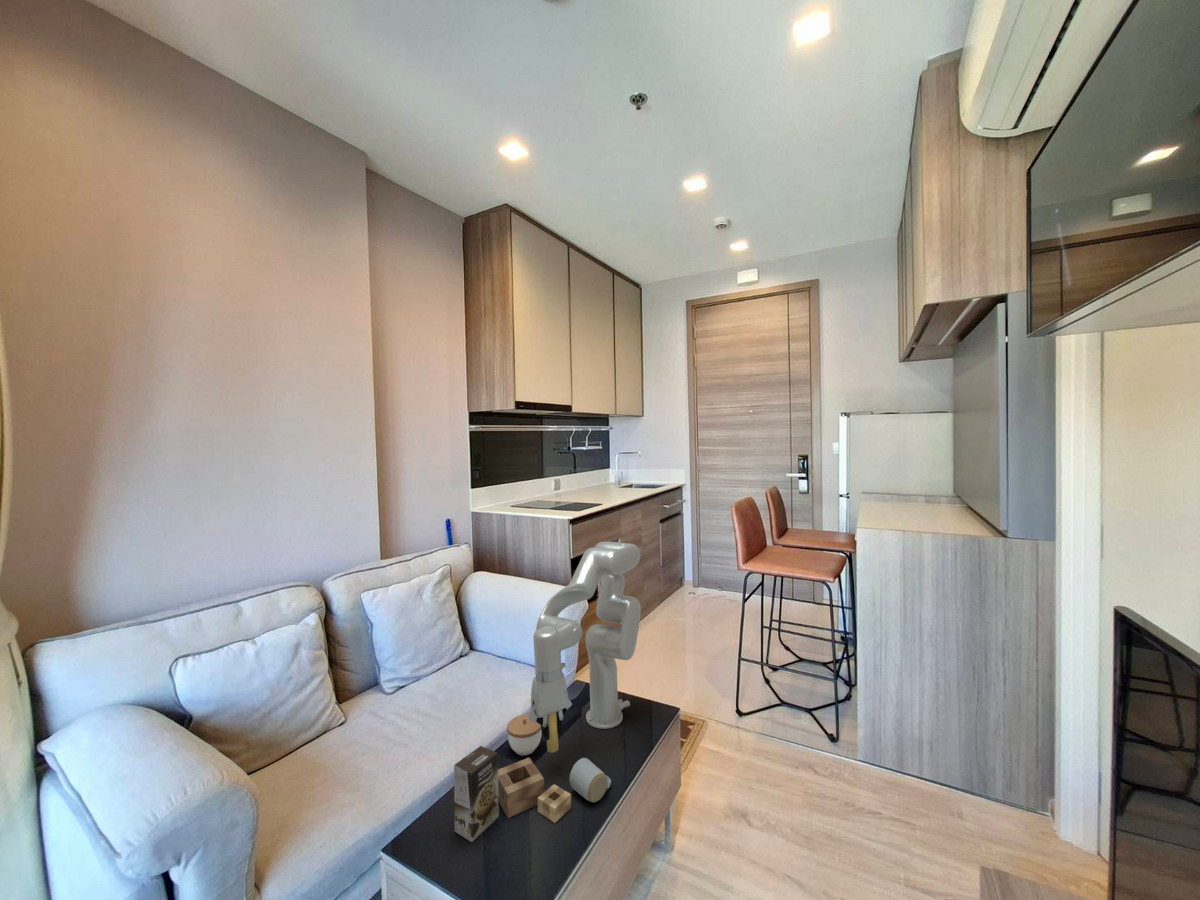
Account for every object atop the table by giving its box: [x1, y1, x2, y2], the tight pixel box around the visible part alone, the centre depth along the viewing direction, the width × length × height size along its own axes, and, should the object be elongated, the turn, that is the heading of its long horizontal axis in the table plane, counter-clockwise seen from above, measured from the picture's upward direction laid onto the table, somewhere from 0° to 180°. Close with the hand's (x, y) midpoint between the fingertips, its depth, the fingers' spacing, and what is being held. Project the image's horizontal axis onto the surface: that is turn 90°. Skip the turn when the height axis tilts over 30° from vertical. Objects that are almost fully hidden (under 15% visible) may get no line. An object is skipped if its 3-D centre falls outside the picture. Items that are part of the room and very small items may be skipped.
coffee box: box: [453, 745, 500, 843], centre depth 112 cm, size 9×6×16 cm
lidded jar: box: [506, 713, 542, 756], centre depth 141 cm, size 11×11×9 cm
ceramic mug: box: [568, 757, 612, 803], centre depth 122 cm, size 11×8×8 cm
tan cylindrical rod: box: [546, 712, 559, 754], centre depth 131 cm, size 3×3×14 cm
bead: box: [498, 757, 545, 819], centre depth 121 cm, size 10×10×6 cm
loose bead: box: [537, 784, 572, 824], centre depth 116 cm, size 6×6×4 cm
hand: (552, 734), depth 131 cm, fingers closed on tan cylindrical rod, 3 cm apart
